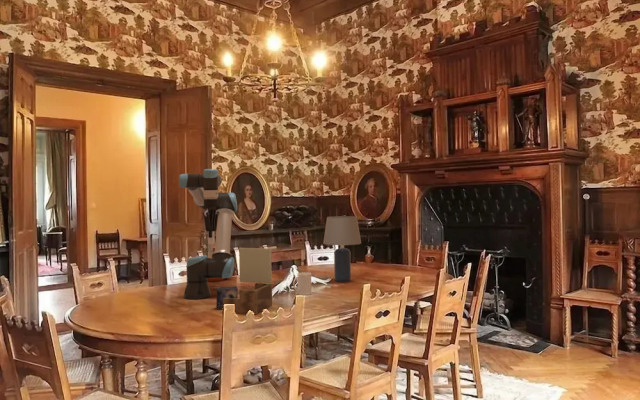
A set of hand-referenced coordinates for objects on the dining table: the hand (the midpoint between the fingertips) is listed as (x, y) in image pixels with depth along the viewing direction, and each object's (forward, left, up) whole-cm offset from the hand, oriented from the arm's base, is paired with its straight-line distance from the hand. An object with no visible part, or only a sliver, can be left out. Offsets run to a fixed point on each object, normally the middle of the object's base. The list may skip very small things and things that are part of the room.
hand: (211, 243), depth 267 cm
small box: (+8, 0, -33) cm, 34 cm away
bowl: (-42, +77, -33) cm, 93 cm away
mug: (+34, +44, -33) cm, 65 cm away
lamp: (+46, +92, -33) cm, 108 cm away
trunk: (+20, 0, -33) cm, 39 cm away
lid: (+20, +9, -12) cm, 25 cm away
